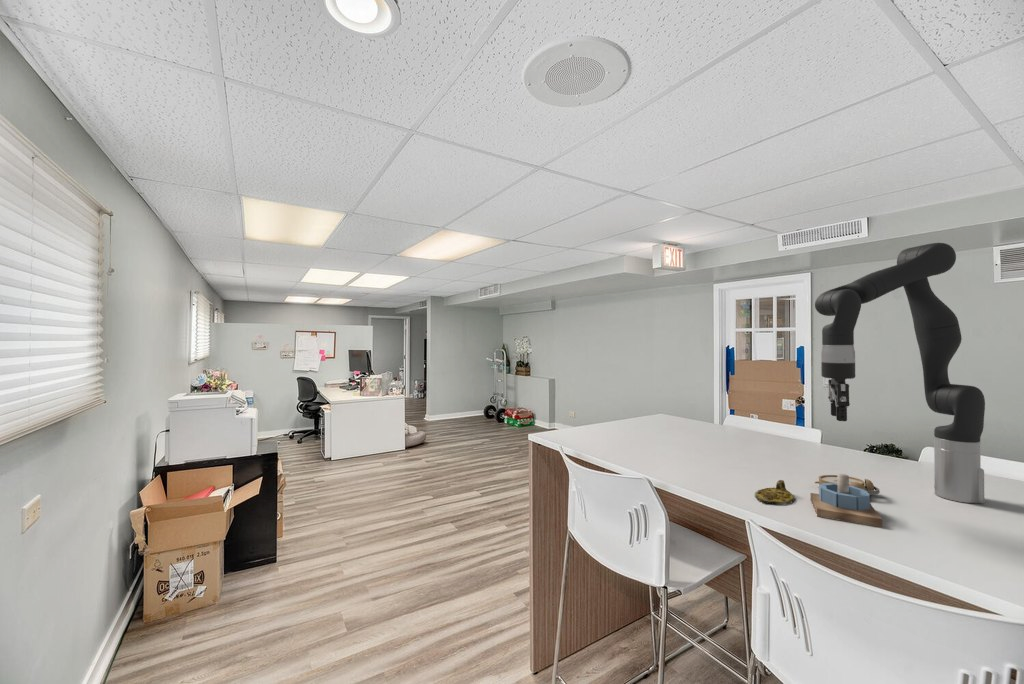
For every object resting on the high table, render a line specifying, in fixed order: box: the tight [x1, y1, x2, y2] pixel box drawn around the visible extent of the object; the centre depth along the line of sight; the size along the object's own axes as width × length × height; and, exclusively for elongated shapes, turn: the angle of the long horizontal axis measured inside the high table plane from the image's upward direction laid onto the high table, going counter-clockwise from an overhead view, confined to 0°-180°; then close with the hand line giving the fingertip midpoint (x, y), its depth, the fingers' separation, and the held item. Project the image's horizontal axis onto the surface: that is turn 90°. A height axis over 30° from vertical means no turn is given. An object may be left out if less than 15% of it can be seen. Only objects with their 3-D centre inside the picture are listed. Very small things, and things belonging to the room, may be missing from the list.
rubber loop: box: [818, 483, 871, 511], centre depth 113 cm, size 10×10×4 cm
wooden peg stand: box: [810, 473, 883, 528], centre depth 111 cm, size 13×13×10 cm
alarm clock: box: [814, 474, 881, 496], centre depth 126 cm, size 11×5×15 cm
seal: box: [754, 479, 795, 506], centre depth 121 cm, size 9×5×15 cm
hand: (838, 418), depth 116 cm, fingers open, 8 cm apart
